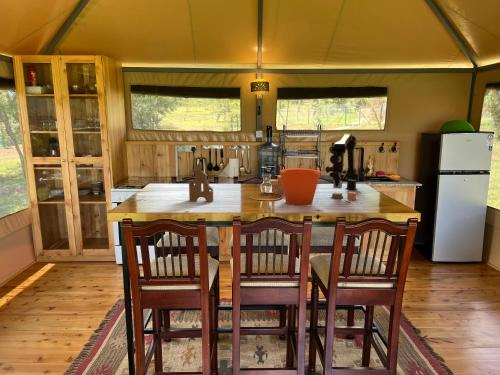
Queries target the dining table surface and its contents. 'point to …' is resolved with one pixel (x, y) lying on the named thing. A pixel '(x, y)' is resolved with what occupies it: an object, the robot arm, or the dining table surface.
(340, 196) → the walnut base
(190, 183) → the wooden toy
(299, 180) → the flowerpot
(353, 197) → the terracotta block
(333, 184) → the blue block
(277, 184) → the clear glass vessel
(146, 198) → the dining table surface
